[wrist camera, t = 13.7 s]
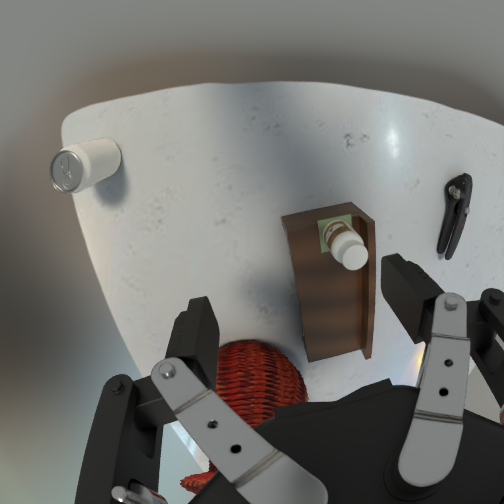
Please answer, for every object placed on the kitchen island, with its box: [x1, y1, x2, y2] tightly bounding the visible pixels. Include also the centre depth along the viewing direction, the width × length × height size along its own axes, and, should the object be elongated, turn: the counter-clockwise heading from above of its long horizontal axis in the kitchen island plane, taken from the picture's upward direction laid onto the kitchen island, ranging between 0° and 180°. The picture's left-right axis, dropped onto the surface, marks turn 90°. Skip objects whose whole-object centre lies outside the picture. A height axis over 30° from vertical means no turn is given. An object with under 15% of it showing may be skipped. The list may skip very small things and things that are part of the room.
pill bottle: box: [323, 220, 368, 270], centre depth 35 cm, size 4×4×8 cm
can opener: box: [438, 173, 472, 260], centre depth 42 cm, size 18×7×6 cm, turn 177°
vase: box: [180, 340, 309, 494], centre depth 45 cm, size 23×24×30 cm
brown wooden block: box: [281, 202, 376, 363], centre depth 46 cm, size 28×12×9 cm, turn 13°
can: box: [49, 139, 121, 193], centre depth 33 cm, size 6×6×12 cm
